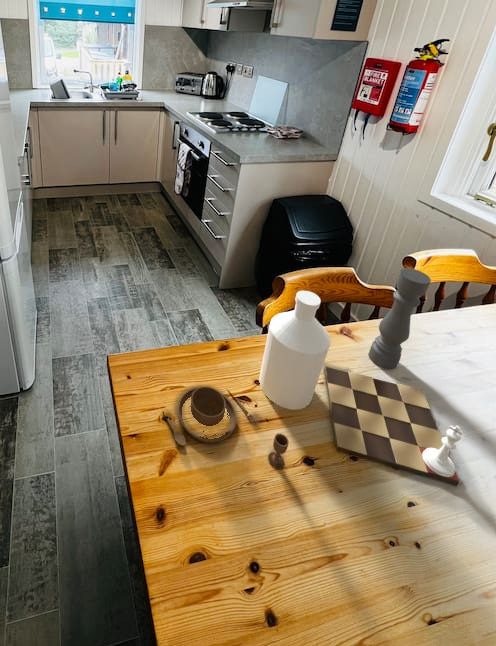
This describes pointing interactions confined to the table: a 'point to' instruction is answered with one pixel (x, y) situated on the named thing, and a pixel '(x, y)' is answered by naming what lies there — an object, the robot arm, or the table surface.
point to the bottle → (294, 354)
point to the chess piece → (443, 454)
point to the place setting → (219, 419)
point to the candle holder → (398, 318)
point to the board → (383, 422)
